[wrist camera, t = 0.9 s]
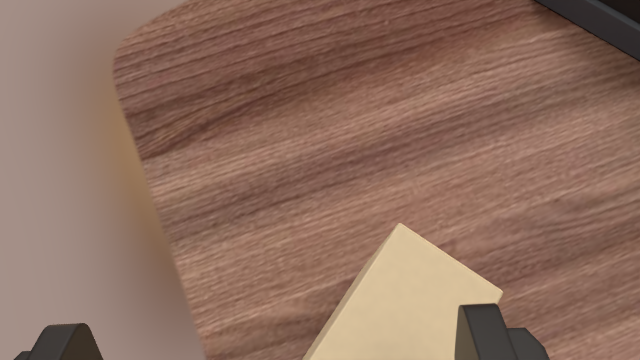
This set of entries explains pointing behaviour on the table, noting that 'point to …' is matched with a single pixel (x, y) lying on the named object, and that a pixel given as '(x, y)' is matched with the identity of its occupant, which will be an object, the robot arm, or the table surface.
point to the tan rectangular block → (402, 304)
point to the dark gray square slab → (605, 20)
